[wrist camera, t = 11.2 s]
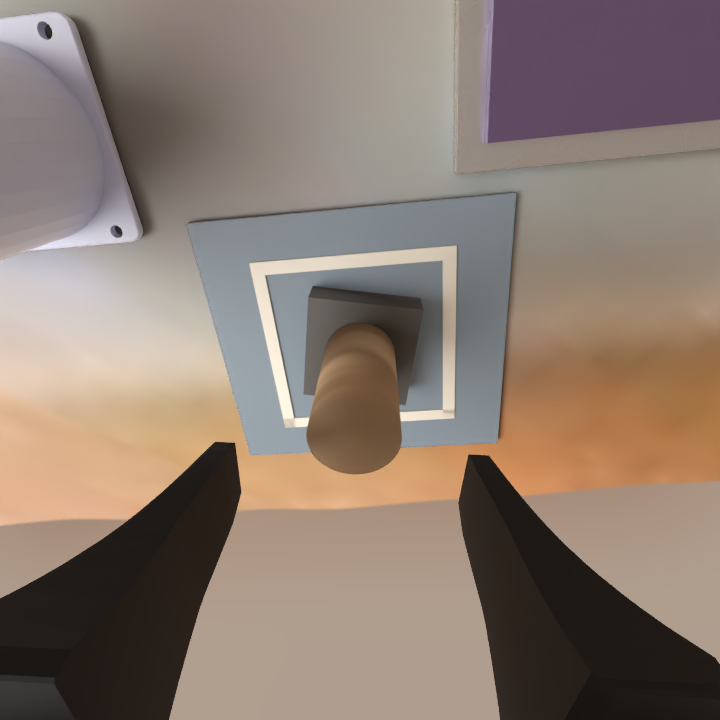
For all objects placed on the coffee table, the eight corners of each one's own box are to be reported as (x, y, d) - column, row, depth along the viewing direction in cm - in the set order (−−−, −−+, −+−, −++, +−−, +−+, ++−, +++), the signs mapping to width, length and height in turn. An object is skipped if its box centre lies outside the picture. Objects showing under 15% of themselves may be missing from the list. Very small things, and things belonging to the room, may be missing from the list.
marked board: (251, 452, 25) (250, 456, 24) (188, 222, 19) (185, 224, 18) (496, 439, 24) (498, 443, 23) (514, 192, 18) (516, 193, 17)
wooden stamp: (307, 378, 22) (278, 485, 15) (312, 286, 20) (280, 365, 13) (403, 388, 22) (415, 499, 15) (420, 298, 20) (442, 382, 13)
